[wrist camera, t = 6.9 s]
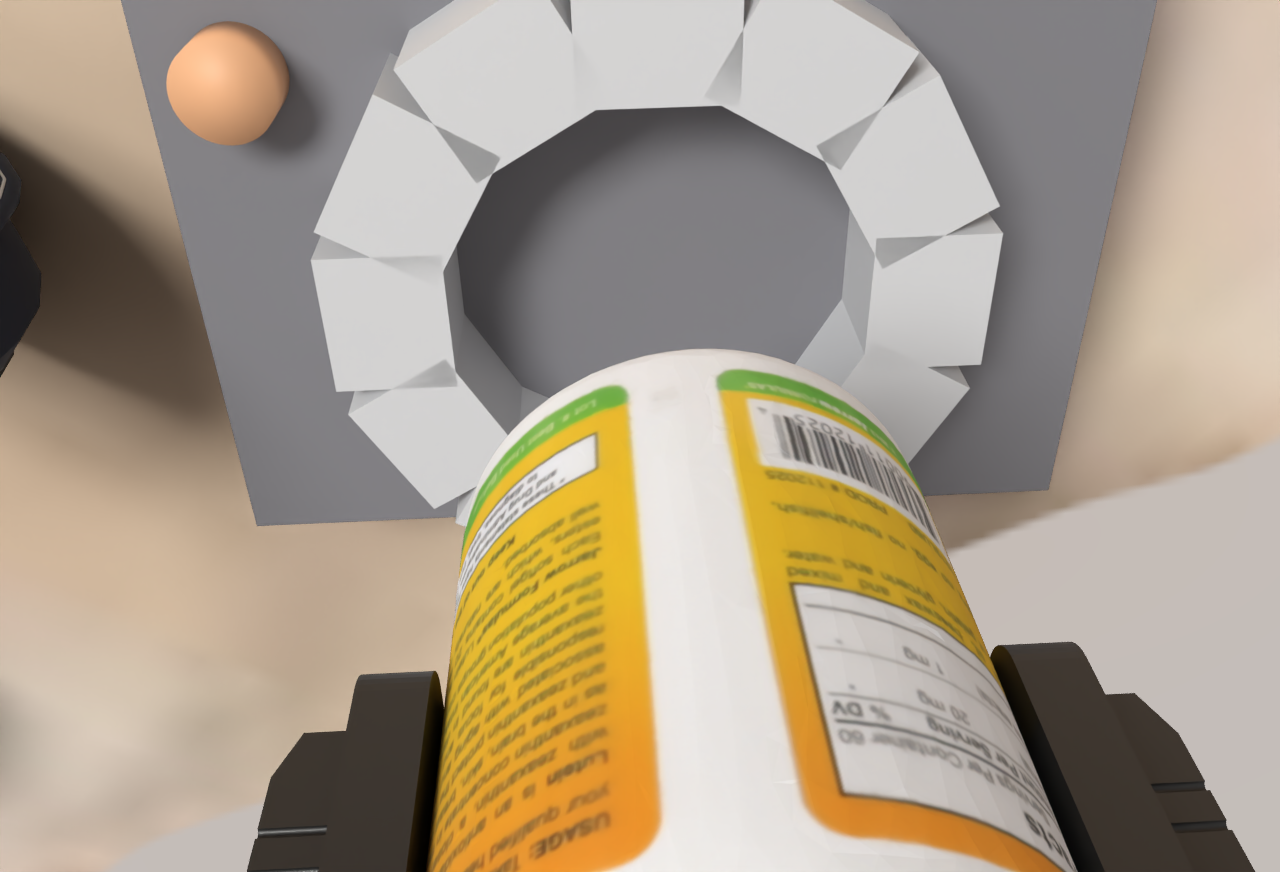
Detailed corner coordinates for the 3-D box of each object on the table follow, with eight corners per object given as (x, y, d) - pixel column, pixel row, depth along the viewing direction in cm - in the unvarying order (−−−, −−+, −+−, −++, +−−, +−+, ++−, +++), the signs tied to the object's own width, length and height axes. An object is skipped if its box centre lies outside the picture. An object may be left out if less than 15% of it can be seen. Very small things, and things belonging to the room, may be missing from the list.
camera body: (1082, -135, 21) (1239, -63, 16) (990, 386, 27) (1083, 553, 22) (180, -109, 21) (56, -26, 16) (295, 416, 27) (233, 593, 22)
